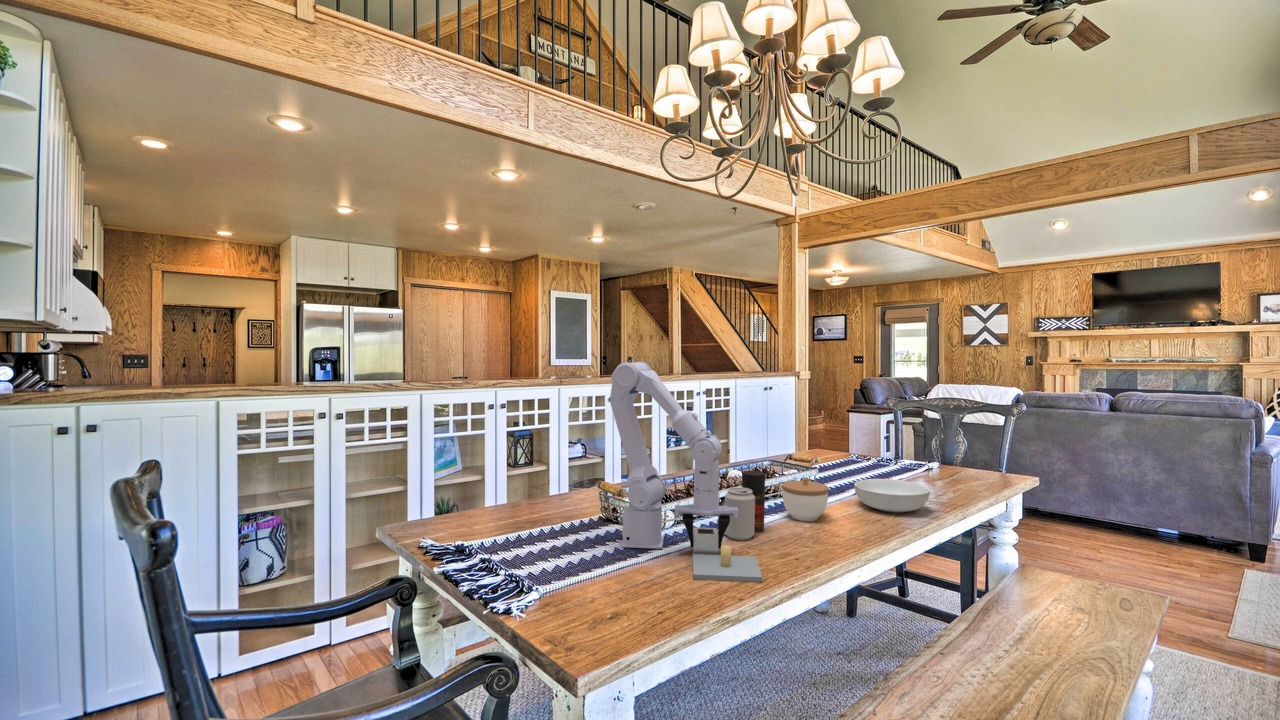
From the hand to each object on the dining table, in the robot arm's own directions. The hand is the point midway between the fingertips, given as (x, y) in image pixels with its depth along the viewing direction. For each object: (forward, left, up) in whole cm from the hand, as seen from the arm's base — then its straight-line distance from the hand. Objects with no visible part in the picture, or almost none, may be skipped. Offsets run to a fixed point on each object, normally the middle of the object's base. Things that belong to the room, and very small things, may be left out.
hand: (705, 546), depth 139 cm
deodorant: (+13, +19, -2) cm, 23 cm away
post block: (+4, -10, -1) cm, 11 cm away
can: (+9, +13, -2) cm, 16 cm away
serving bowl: (+57, +45, -2) cm, 73 cm away
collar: (0, 0, -1) cm, 1 cm away
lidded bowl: (+29, +32, -2) cm, 43 cm away
